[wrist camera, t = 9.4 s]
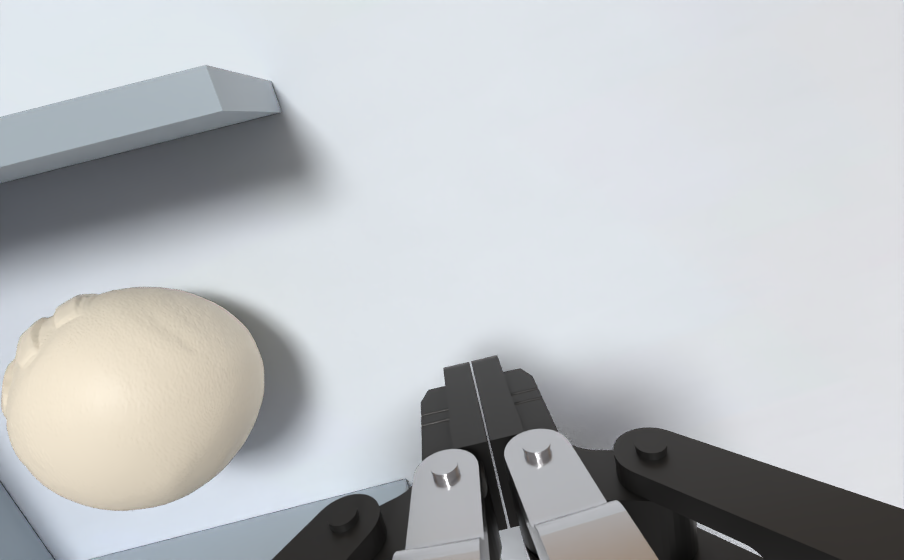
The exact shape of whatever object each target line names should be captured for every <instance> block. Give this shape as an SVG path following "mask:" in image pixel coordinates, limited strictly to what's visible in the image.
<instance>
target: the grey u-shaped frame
mask: <svg viewBox="0 0 904 560" xmlns="http://www.w3.org/2000/svg"><path fill="white" fill-rule="evenodd" d="M280 112H281V109H280V106H279V103H278V100H277V98H276V95H275V92H274V89H273V86H272V83H271V81H268V80H264V79H260V78H256V77H252V76H248V75H244V74H240V73H236V72H232V71H228V70H224V69H220V68H216V67H212V66H208V65H204V66H200V67H196V68H192V69H188V70H184V71H180V72H176V73H172V74H168V75H164V76H161V77H157V78H153V79H149V80H145V81H141V82H137V83H133V84H129V85H125V86H121V87H117V88H113V89H109V90H105V91H101V92H97V93H93V94H89V95H85V96H82V97H78V98H74V99H70V100H66V101H62V102H58V103H54V104H50V105H46V106H42V107H38V108H34V109H30V110H26V111H22V112H18V113H14V114H10V115H6V116H3V117H0V183H3V182H7V181H11V180H15V179H19V178H23V177H27V176H31V175H35V174H39V173H43V172H47V171H51V170H55V169H59V168H63V167H67V166H71V165H74V164H78V163H82V162H86V161H90V160H94V159H98V158H102V157H106V156H110V155H114V154H118V153H122V152H126V151H130V150H134V149H138V148H142V147H146V146H149V145H153V144H157V143H161V142H165V141H169V140H173V139H177V138H181V137H185V136H189V135H193V134H197V133H201V132H205V131H209V130H213V129H217V128H220V127H224V126H228V125H232V124H236V123H240V122H244V121H248V120H252V119H256V118H260V117H264V116H268V115H272V114H276V113H280ZM408 489H409V487H408V484H407V481H406V479H403V480H399V481H395V482H392V483H388V484H384V485H380V486H376V487H372V488H368V489H364V490H360V491H356V492H352V493H349V494H345V495H341V496H337V497H333V498H329V499H325V500H321V501H317V502H313V503H309V504H306V505H302V506H298V507H294V508H290V509H286V510H282V511H278V512H274V513H270V514H266V515H262V516H259V517H255V518H251V519H247V520H243V521H239V522H235V523H231V524H227V525H223V526H219V527H216V528H212V529H208V530H204V531H200V532H196V533H192V534H188V535H184V536H180V537H176V538H173V539H169V540H165V541H161V542H157V543H153V544H149V545H145V546H141V547H137V548H133V549H130V550H126V551H122V552H118V553H114V554H110V555H106V556H102V557H98V558H94V559H90V560H272V559H273V558H274V557H275V556H276V555H277V554H278V553H279V552H280V551H281V550H282V549H283V548H284V547H285V546H286V545H287V544H288V543H289V542H290V541H291V540H292V539H293V538H294V537H295V536H296V535H297V534H298V533H299V532H300V531H301V530H302V529H303V528H304V527H305V526H306V525H307V524H308V523H309V522H310V521H311V520H312V519H313V518H314V517H315V516H316V515H317V514H318V513H319V512H320V511H321V510H323V509H324V508H325V507H326V506H327V505H329V504H330V503H332V502H333V501H335V500H337V499H339V498H342V497H344V496H347V495H352V494H366V495H369V496H371V497H373V498H374V499H375V500H376V501H377V502H378V504H379V506H380V505H382V504H384V503H386V502H388V501H390V500H392V499H394V498H396V497H398V496H399V495H401V494H403V493H404V492H405V491H407V490H408ZM0 560H54V559H53V557H52V556H51V554H50V553H49V552H48V550H47V549H46V547H45V546H44V544H43V543H42V542H41V540H40V539H39V537H38V536H37V534H36V533H35V532H34V530H33V529H32V527H31V526H30V524H29V523H28V521H27V520H26V519H25V517H24V516H23V514H22V513H21V511H20V510H19V509H18V507H17V506H16V504H15V503H14V501H13V500H12V498H11V497H10V496H9V494H8V493H7V491H6V490H5V488H4V487H3V486H2V484H1V483H0Z"/></svg>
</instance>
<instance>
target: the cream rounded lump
mask: <svg viewBox="0 0 904 560" xmlns="http://www.w3.org/2000/svg"><path fill="white" fill-rule="evenodd" d="M263 394H264V366H263V361H262V357H261V356H260V353H259V350H258V348H257V345H256V343H255V341H254V339H253V337H252V335H251V334H250V332H249V331H248V329H247V328H246V327H245V326H244V325H243V324H242V323H241V322H240V321H239V320H238V319H237V318H236V317H234V316H233V315H232V314H231V313H230V312H228V311H227V310H226V309H224V308H223V307H221V306H219V305H218V304H216V303H214V302H212V301H210V300H207V299H205V298H202V297H199V296H197V295H194V294H192V293H189V292H185V291H182V290H177V289H169V288H162V287H132V288H125V289H119V290H112V291H109V292H105V293H102V294H99V295H98V294H82V295H77V296H75V297H73V298H72V299H70V300H68V301H66V302H65V303H63V304H61V305H60V306H58V307H57V308H56V311H55V313H54V315H53V316H51V317H49V318H46V317H45V318H41V319H39V320H38V321H36V322H35V323H34V324H33V325H32V326H31V327H30V328H28V329H27V330H26V331H25V332H24V333H23V334H22V335H21V336H20V339H19V341H18V345H17V351H16V357H15V359H14V360H13V361H12V362H11V363H10V364H9V365H8V367H7V369H6V371H5V375H4V379H3V385H2V397H1V407H2V412H3V413H4V416H5V417H6V419H7V431H8V435H9V439H10V442H11V445H12V447H13V450H14V451H15V453H16V455H17V456H18V458H19V460H20V461H21V462H22V463H23V464H24V465H25V466H26V467H27V469H28V470H29V471H30V472H31V474H32V475H33V476H34V477H35V478H36V479H37V480H38V481H39V482H40V483H42V485H44V486H45V487H47V488H48V489H50V490H51V491H53V492H55V493H56V494H58V495H60V496H62V497H64V498H66V499H69V500H71V501H74V502H76V503H79V504H82V505H85V506H89V507H93V508H98V509H105V510H114V511H128V510H137V509H145V508H151V507H157V506H160V505H165V504H167V503H170V502H173V501H175V500H178V499H180V498H183V497H185V496H186V495H189V494H190V493H192V492H194V491H195V490H197V489H198V488H200V487H201V486H203V485H204V484H206V483H207V482H209V481H210V480H211V479H212V478H214V477H215V476H216V475H217V474H219V473H220V472H221V471H222V470H223V469H224V468H225V467H226V466H227V465H228V464H229V462H230V461H231V460H232V459H233V457H234V456H235V455H236V454H237V453H238V451H239V450H240V449H241V447H242V446H243V444H244V443H245V441H246V440H247V438H248V436H249V434H250V432H251V430H252V428H253V427H254V424H255V421H256V419H257V416H258V413H259V410H260V407H261V404H262V400H263Z"/></svg>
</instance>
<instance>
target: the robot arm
mask: <svg viewBox="0 0 904 560" xmlns="http://www.w3.org/2000/svg"><path fill="white" fill-rule="evenodd" d="M471 362H472V366H473V370H474V375H475V379H476V383H477V388H478V392H479V396H480V400H481V405H482V409H483V413H484V418H485V422H486V426H487V430H488V435H489V439H490V443H491V447H492V452H493V456H494V460H495V464H496V469H497V473H498V477H499V481H500V485H501V490H502V494H503V498H504V502H505V507H506V511H507V515H508V519H509V524H510V528H511V527H516V526H520V530H521V534H522V537H523V542H524V546H525V550H526V555H527V559H528V560H904V509H901V508H898V507H895V506H892V505H889V504H886V503H883V502H880V501H877V500H874V499H871V498H868V497H865V496H862V495H859V494H856V493H853V492H850V491H847V490H844V489H841V488H838V487H835V486H832V485H829V484H826V483H823V482H820V481H817V480H814V479H811V478H808V477H805V476H802V475H799V474H796V473H793V472H790V471H787V470H784V469H781V468H778V467H775V466H772V465H769V464H766V463H763V462H760V461H757V460H754V459H751V458H748V457H745V456H742V455H739V454H736V453H733V452H730V451H727V450H724V449H721V448H718V447H715V446H712V445H709V444H706V443H703V442H700V441H697V440H694V439H691V438H688V437H685V436H682V435H679V434H676V433H673V432H670V431H667V430H664V429H659V428H638V429H634V430H631V431H628V432H626V433H624V434H623V435H621V436H620V437H619V438H618V439H617V440H616V442H615V444H614V449H613V450H587V449H582V448H578V447H576V446H573V445H571V443H570V442H569V440H568V439H567V438H566V437H565V436H564V435H562V434H561V433H559V432H558V430H557V428H556V426H555V424H554V422H553V420H552V417H551V415H550V413H549V411H548V409H547V407H546V405H545V402H544V400H543V399H542V396H541V394H540V392H539V390H538V388H537V385H536V383H535V381H534V379H533V377H532V376H531V375H530V374H528V373H527V372H525V371H523V370H522V369H516V370H511V371H507V372H503V371H502V368H501V365H500V362H499V360H498V357H497V355H496V356H492V357H488V358H483V359H479V360H475V361H471ZM444 377H445V386H443V387H439V388H435V389H431V390H428V392H427V393H426V395H425V397H424V398H423V400H422V402H421V416H422V417H421V425H422V462H421V463H420V464H419V465H418V467H417V468H416V470H415V472H414V476H413V484H412V486H411V487H410V488H409V489H408V490H407V491H405V492H404V493H403V494H401V495H399V496H398V497H396V498H394V499H392V500H390V501H388V502H386V503H384V504H382V505H380V506H379V504H378V502H377V501H376V500H375V499H374V498H373V497H371V496H369V495H366V494H352V495H347V496H344V497H342V498H339V499H337V500H335V501H333V502H332V503H330V504H329V505H327V506H326V507H325V508H324V509H323V510H321V511H320V512H319V513H318V514H317V515H316V516H315V517H314V518H313V519H312V520H311V521H310V522H309V523H308V524H307V525H306V526H305V527H304V528H303V529H302V530H301V531H300V532H299V533H298V534H297V535H296V536H295V537H294V538H293V539H292V540H291V541H290V542H289V543H288V544H287V545H286V546H285V547H284V548H283V549H282V550H281V551H280V552H279V553H278V554H277V555H276V556H275V557H274V558H273V559H272V560H502V558H501V550H502V547H501V540H500V535H499V530H504V529H508V528H507V524H506V520H505V515H504V511H503V506H502V502H501V498H500V493H499V489H498V485H497V480H496V476H495V471H494V467H493V463H492V458H491V454H490V450H489V445H488V441H487V436H486V432H485V428H484V423H483V419H482V415H481V411H480V406H479V402H478V398H477V393H476V389H475V385H474V381H473V376H472V372H471V368H470V364H469V362H467V363H462V364H458V365H454V366H449V367H445V368H444ZM697 522H698V523H700V524H702V525H705V526H707V527H709V528H711V529H713V530H716V531H718V532H720V533H722V534H724V535H727V536H729V537H731V538H733V539H735V540H738V541H740V542H742V543H744V544H746V545H748V546H750V547H751V548H753V549H754V550H755V551H757V552H758V553H759V554H760V555H761V556H762V557H763V558H762V557H760V556H758V555H756V554H754V553H752V552H749V551H747V550H745V549H743V548H741V547H739V546H736V545H734V544H732V543H730V542H728V541H726V540H723V539H721V538H719V537H717V536H715V535H713V534H711V533H708V532H706V531H704V530H702V529H700V528H698V527H697Z"/></svg>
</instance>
